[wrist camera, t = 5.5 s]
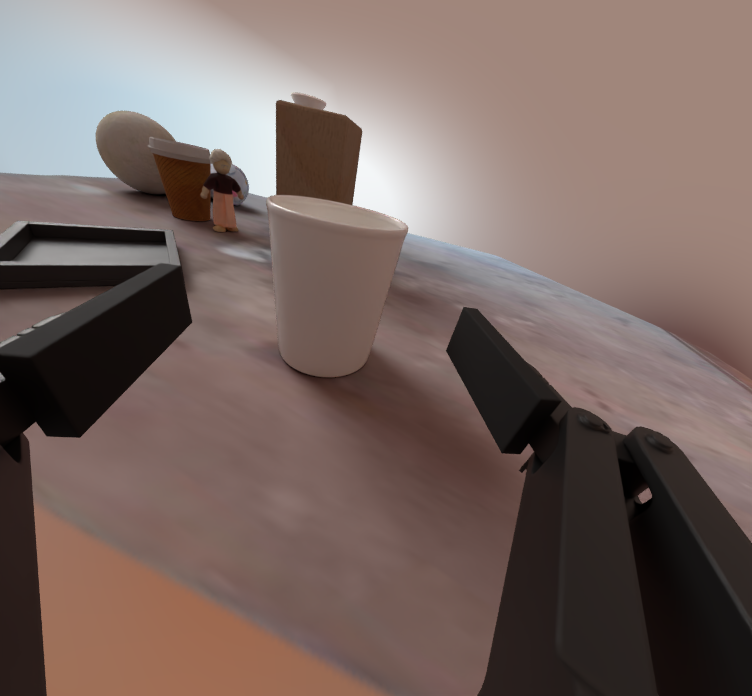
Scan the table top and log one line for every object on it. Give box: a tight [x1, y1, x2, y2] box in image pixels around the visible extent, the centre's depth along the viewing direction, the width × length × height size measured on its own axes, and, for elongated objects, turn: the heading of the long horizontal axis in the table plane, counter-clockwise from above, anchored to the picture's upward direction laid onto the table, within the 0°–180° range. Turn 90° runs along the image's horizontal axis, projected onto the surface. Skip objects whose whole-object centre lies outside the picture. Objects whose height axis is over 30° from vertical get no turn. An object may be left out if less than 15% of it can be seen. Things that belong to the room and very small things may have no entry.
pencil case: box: [210, 164, 249, 205], centre depth 71 cm, size 21×9×10 cm, turn 60°
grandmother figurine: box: [200, 149, 244, 232], centre depth 48 cm, size 8×4×13 cm, turn 157°
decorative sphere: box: [96, 111, 176, 194], centre depth 60 cm, size 15×15×15 cm
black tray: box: [0, 221, 184, 289], centre depth 31 cm, size 14×14×2 cm
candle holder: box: [266, 195, 408, 377], centre depth 22 cm, size 10×10×12 cm
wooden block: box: [276, 100, 362, 205], centre depth 45 cm, size 10×10×20 cm
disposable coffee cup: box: [148, 137, 211, 221], centre depth 51 cm, size 10×10×12 cm
